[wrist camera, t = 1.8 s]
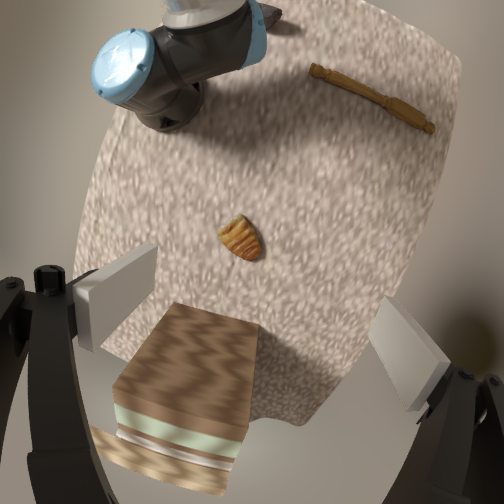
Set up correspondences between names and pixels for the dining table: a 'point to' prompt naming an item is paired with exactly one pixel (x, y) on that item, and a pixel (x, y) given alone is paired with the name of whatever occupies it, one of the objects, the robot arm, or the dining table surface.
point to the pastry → (240, 238)
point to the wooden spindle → (376, 98)
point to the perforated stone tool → (270, 14)
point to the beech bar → (159, 465)
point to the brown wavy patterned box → (190, 388)
